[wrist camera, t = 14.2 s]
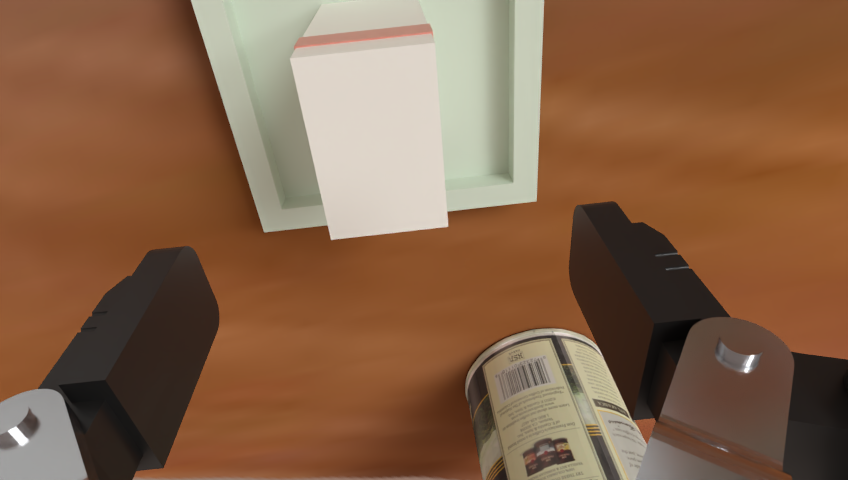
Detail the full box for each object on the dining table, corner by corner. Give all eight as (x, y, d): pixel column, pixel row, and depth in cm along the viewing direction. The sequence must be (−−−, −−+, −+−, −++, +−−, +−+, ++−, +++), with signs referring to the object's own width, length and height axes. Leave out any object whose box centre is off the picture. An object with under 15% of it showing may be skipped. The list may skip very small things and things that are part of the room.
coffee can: (536, 440, 41) (599, 658, 29) (435, 393, 37) (461, 623, 25) (636, 364, 37) (757, 582, 25) (534, 302, 33) (621, 527, 21)
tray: (535, -134, 20) (549, -138, 18) (527, 183, 28) (536, 201, 26) (179, -96, 20) (160, -95, 18) (271, 212, 28) (264, 232, 26)
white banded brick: (417, -8, 21) (436, 40, 14) (428, 129, 25) (449, 227, 17) (319, 2, 21) (287, 56, 14) (345, 139, 25) (329, 241, 17)
